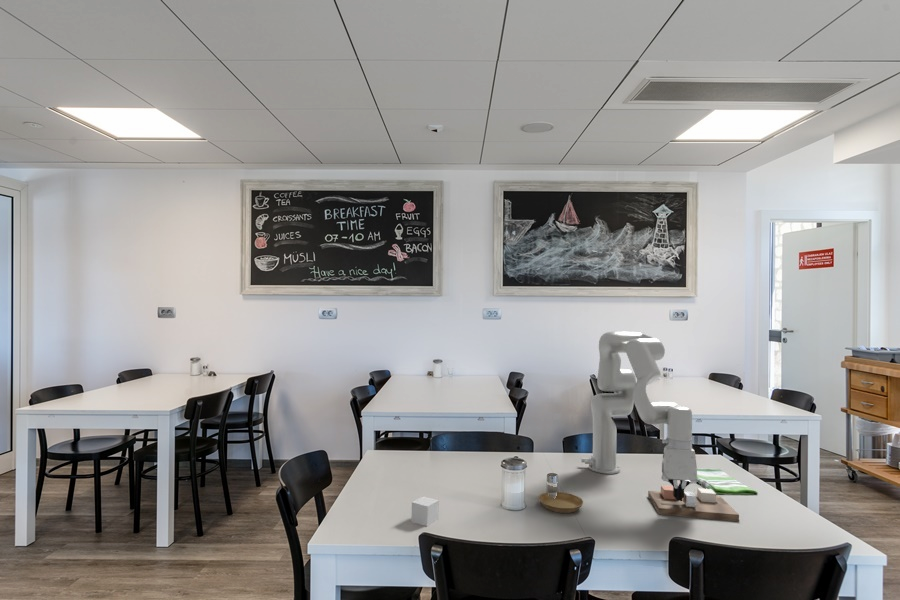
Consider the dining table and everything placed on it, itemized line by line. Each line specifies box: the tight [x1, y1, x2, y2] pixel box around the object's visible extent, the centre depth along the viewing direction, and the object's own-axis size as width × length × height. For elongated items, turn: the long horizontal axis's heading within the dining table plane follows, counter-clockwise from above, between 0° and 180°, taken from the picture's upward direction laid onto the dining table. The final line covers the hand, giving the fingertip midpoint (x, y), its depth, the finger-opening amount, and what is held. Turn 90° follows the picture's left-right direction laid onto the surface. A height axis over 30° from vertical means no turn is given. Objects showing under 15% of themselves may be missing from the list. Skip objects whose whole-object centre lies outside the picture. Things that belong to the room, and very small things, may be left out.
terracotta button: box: [660, 484, 676, 500], centre depth 171 cm, size 5×5×3 cm
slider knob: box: [683, 490, 697, 507], centre depth 163 cm, size 3×4×4 cm
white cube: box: [410, 495, 440, 527], centre depth 153 cm, size 6×6×6 cm
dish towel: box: [696, 467, 759, 496], centre depth 192 cm, size 17×23×4 cm
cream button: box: [696, 487, 717, 503], centre depth 169 cm, size 5×5×3 cm
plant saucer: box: [538, 491, 584, 514], centre depth 166 cm, size 15×15×3 cm
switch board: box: [647, 490, 740, 522], centre depth 167 cm, size 24×16×2 cm, turn 80°
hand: (678, 499), depth 164 cm, fingers closed
